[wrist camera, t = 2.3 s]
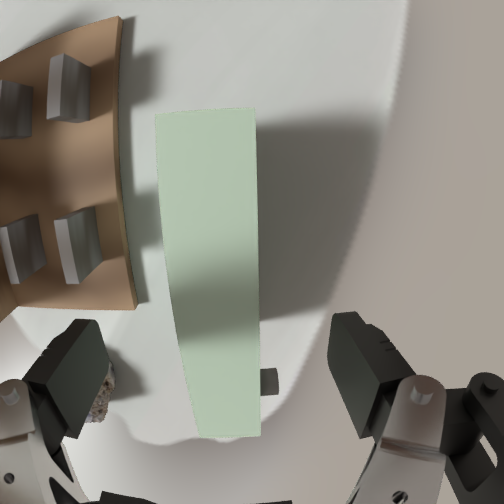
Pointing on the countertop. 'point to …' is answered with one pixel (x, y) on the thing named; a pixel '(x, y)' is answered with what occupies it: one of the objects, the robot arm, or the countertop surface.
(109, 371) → the mineral specimen
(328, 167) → the countertop surface
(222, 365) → the cabinet door
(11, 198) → the hinge base
